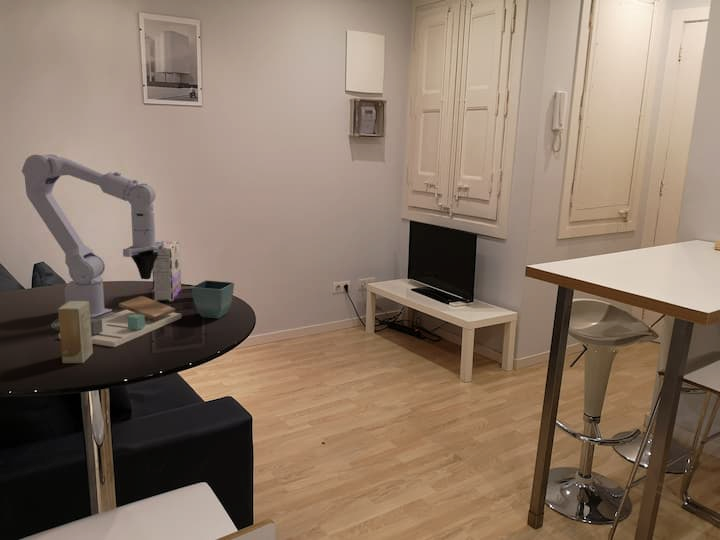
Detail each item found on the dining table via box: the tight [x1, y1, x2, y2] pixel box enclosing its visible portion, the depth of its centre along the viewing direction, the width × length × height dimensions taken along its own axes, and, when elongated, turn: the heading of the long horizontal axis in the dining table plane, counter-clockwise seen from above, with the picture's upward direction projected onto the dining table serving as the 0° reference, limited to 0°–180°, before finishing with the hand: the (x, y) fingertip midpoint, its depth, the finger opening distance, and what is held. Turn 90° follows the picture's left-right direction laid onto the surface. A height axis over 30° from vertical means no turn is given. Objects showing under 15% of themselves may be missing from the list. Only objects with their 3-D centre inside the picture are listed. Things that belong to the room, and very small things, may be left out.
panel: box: [58, 309, 182, 348], centre depth 148 cm, size 16×26×3 cm, turn 162°
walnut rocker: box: [118, 295, 176, 320], centre depth 153 cm, size 11×9×1 cm
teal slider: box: [127, 314, 145, 330], centre depth 143 cm, size 3×3×3 cm
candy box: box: [152, 240, 182, 302], centre depth 179 cm, size 14×6×16 cm, turn 6°
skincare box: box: [57, 301, 94, 364], centre depth 124 cm, size 6×4×12 cm
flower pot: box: [191, 280, 235, 319], centre depth 159 cm, size 9×9×9 cm
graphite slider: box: [90, 317, 103, 335], centre depth 138 cm, size 3×3×3 cm
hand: (145, 278), depth 159 cm, fingers closed
